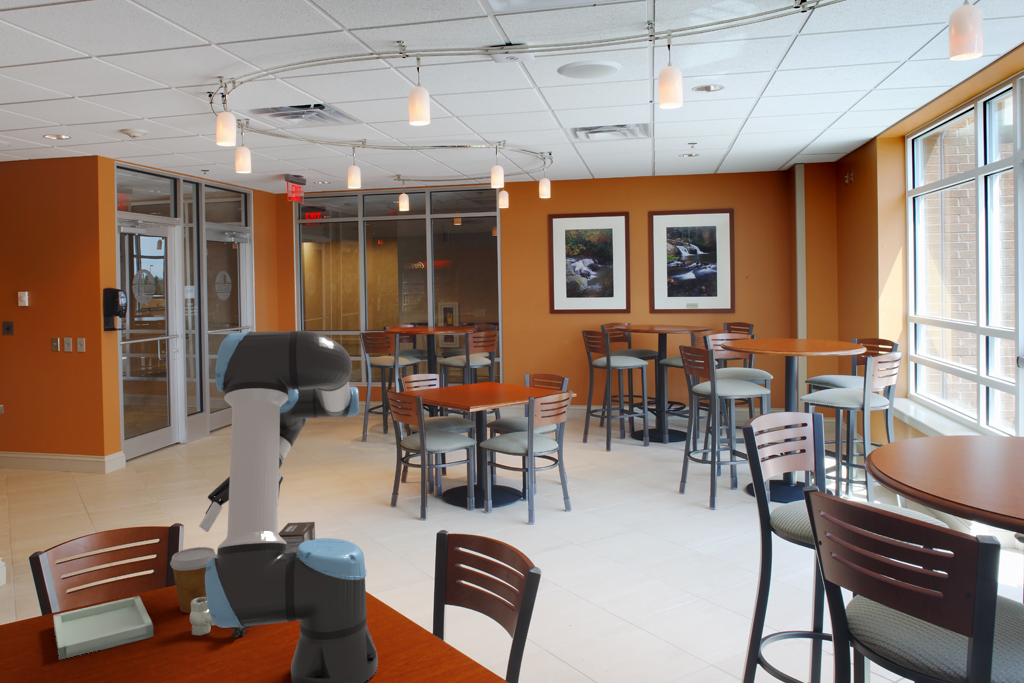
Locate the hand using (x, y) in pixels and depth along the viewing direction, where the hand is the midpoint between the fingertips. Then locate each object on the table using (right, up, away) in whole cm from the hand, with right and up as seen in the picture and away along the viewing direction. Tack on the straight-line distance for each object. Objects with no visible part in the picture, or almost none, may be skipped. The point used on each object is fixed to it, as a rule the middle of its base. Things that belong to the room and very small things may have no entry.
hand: (224, 532), depth 163 cm
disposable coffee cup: (-3, -15, -8) cm, 17 cm away
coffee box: (+18, -14, -3) cm, 23 cm away
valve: (+7, -15, -21) cm, 27 cm away
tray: (-17, -15, -19) cm, 30 cm away
